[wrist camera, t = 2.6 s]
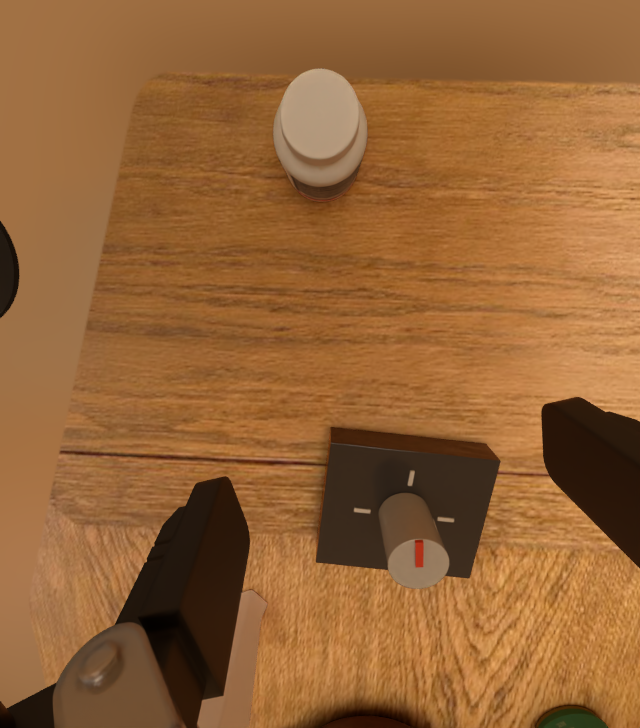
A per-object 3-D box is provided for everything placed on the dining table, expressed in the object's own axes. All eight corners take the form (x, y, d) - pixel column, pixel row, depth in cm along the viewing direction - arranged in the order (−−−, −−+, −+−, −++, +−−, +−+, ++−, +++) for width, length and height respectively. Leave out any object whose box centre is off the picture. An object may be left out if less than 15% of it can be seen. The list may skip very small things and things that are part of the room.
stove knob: (429, 535, 33) (450, 591, 27) (378, 537, 33) (388, 593, 27) (430, 491, 32) (451, 540, 26) (377, 493, 32) (387, 543, 26)
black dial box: (316, 538, 37) (315, 564, 34) (330, 426, 34) (330, 443, 30) (458, 553, 37) (470, 580, 34) (486, 443, 34) (501, 461, 31)
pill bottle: (373, 166, 28) (396, 118, 18) (320, 218, 29) (316, 199, 19) (324, 104, 27) (322, 21, 17) (271, 161, 28) (241, 111, 18)
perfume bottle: (274, 620, 40) (242, 828, 25) (233, 623, 40) (178, 830, 25) (268, 585, 38) (231, 782, 24) (225, 588, 39) (164, 785, 24)
